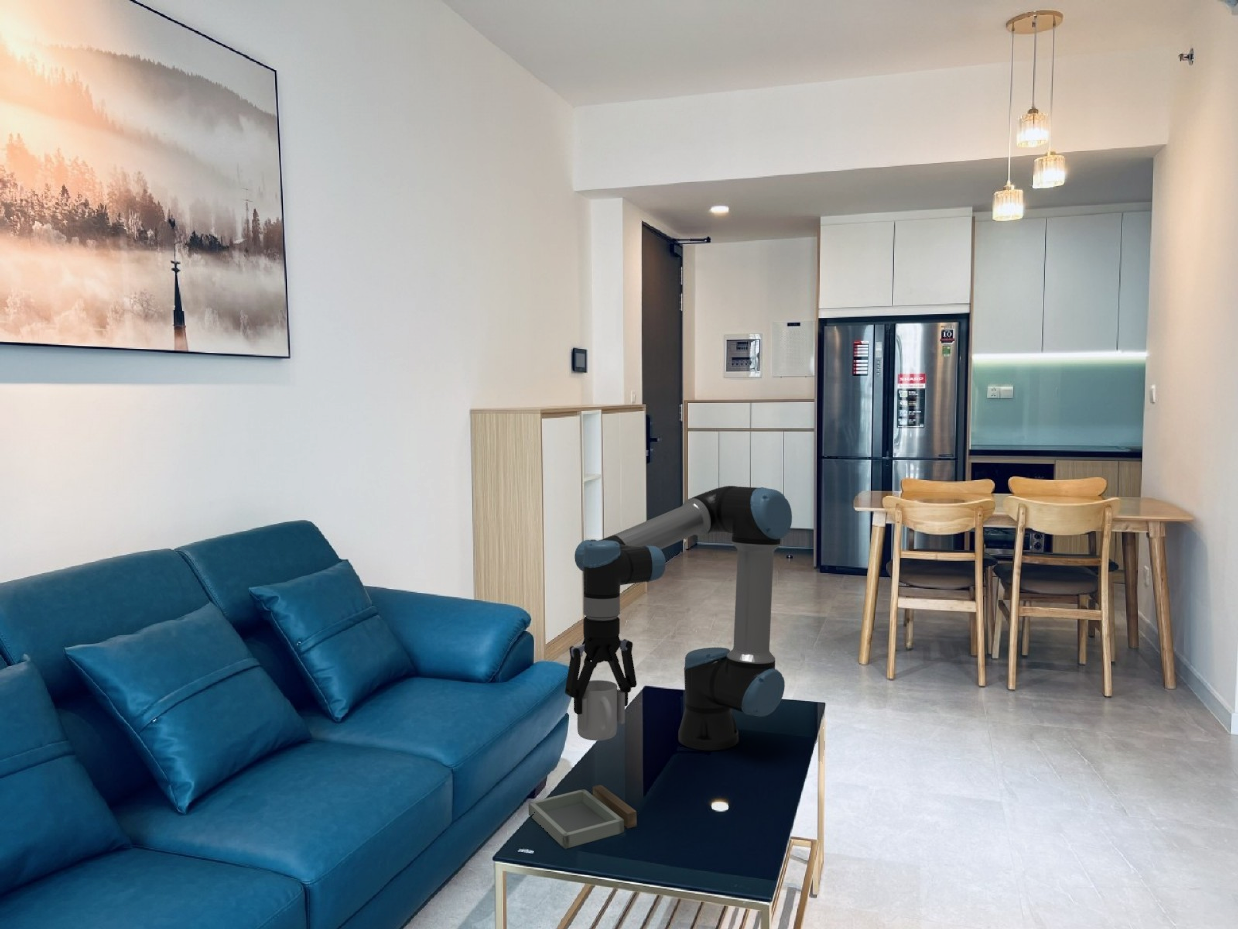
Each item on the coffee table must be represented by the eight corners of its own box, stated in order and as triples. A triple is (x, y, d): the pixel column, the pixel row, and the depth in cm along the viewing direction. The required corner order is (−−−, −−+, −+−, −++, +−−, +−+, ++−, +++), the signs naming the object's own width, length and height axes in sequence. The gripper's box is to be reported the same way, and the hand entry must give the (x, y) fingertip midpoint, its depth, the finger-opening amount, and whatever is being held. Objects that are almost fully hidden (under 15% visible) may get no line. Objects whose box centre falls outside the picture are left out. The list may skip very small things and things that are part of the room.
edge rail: (601, 798, 189) (600, 784, 188) (636, 826, 176) (636, 811, 175) (592, 800, 188) (592, 786, 188) (628, 828, 175) (627, 813, 174)
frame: (584, 800, 188) (584, 789, 188) (624, 832, 173) (623, 820, 173) (528, 814, 181) (528, 802, 181) (564, 849, 167) (564, 836, 167)
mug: (628, 744, 177) (629, 694, 176) (590, 749, 174) (590, 698, 174) (609, 726, 188) (609, 678, 188) (572, 730, 185) (572, 682, 185)
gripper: (636, 608, 189) (635, 712, 190) (547, 618, 178) (547, 728, 179) (654, 614, 182) (654, 722, 183) (563, 625, 172) (563, 739, 173)
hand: (601, 725), depth 181 cm, fingers closed on mug, 8 cm apart
